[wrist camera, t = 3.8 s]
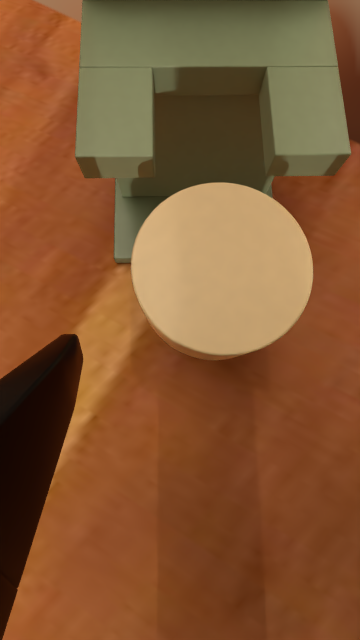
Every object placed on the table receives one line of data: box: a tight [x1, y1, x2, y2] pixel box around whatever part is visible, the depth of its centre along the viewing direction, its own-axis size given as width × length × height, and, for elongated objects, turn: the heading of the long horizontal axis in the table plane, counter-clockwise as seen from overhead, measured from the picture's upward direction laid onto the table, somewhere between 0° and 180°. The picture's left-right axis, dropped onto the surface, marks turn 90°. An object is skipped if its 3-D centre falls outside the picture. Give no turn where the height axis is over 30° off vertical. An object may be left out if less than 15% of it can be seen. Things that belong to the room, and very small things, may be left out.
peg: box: [131, 182, 313, 360], centre depth 14 cm, size 6×6×10 cm
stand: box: [75, 0, 351, 263], centre depth 15 cm, size 8×11×13 cm
